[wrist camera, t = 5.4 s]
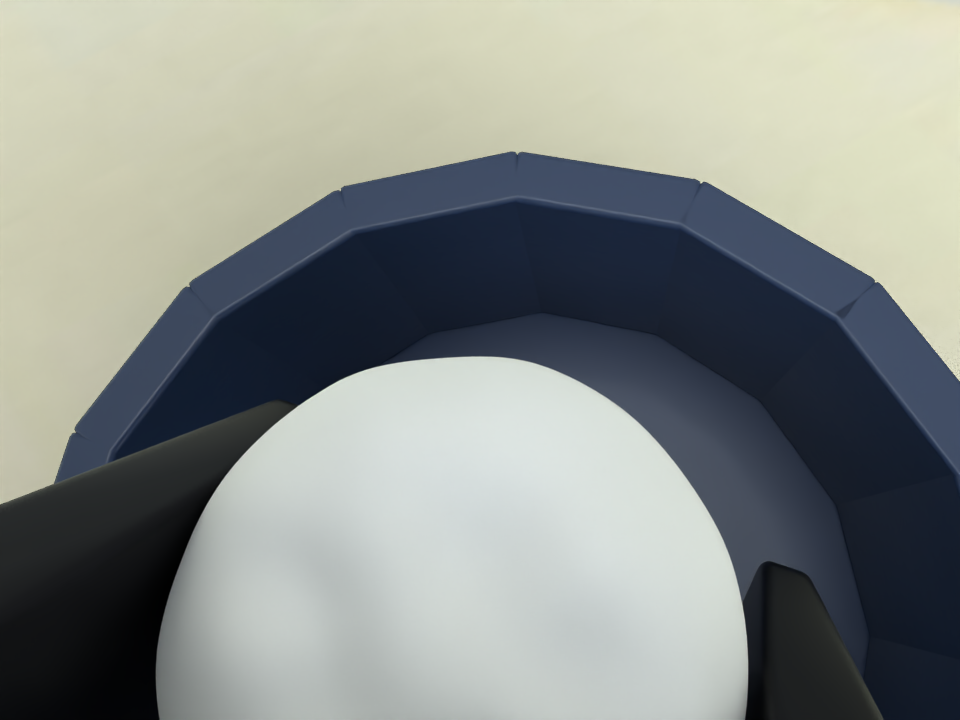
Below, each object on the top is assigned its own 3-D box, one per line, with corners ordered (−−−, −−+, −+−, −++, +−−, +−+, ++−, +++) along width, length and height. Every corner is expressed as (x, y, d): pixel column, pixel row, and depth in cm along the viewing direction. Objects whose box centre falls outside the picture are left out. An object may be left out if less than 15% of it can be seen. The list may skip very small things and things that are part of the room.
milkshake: (525, 850, 14) (394, 1566, 4) (332, 572, 15) (-120, 595, 5) (747, 667, 14) (1140, 915, 4) (539, 410, 15) (468, 143, 5)
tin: (999, 970, 13) (1266, 1243, 8) (233, 1055, 14) (16, 1342, 9) (801, 231, 16) (898, 69, 11) (183, 350, 17) (0, 255, 12)
